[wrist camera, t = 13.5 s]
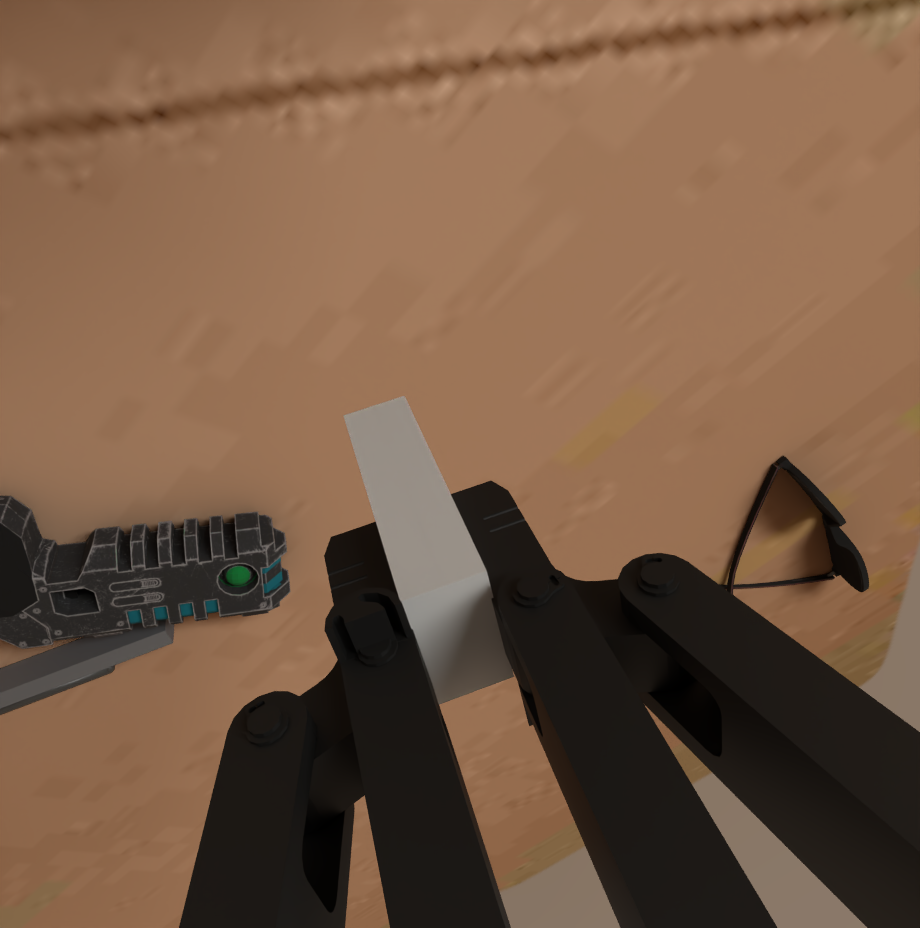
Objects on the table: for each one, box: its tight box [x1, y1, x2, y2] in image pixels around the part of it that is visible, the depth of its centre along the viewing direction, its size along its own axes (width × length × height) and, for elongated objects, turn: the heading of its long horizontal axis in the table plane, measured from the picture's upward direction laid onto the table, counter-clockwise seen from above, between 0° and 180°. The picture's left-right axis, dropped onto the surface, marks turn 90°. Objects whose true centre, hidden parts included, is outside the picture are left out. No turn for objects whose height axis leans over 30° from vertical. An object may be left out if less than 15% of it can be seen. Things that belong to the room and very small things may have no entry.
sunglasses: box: [719, 456, 869, 595], centre depth 64 cm, size 17×14×5 cm
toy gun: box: [0, 496, 290, 649], centre depth 47 cm, size 4×19×10 cm
